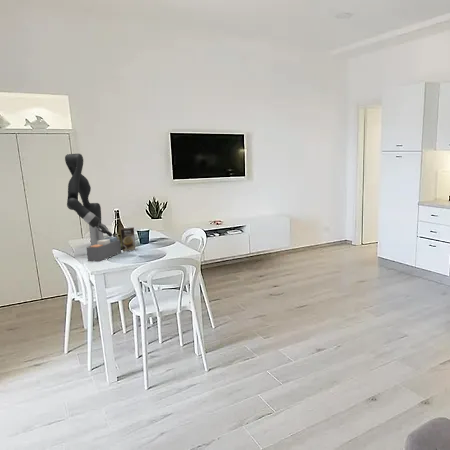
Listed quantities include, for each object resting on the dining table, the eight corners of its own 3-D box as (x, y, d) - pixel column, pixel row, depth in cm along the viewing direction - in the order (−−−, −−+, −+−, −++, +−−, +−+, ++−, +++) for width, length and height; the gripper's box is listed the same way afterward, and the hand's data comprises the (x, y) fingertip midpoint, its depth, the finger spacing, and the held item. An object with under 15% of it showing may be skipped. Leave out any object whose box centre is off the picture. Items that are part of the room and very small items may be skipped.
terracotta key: (96, 248, 262) (95, 244, 262) (103, 249, 260) (103, 244, 260) (90, 250, 256) (89, 246, 256) (97, 251, 255) (97, 246, 254)
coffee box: (122, 251, 278) (120, 229, 276) (123, 249, 285) (121, 228, 282) (135, 250, 280) (133, 228, 277) (135, 248, 286) (133, 226, 283)
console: (110, 251, 280) (109, 239, 278) (121, 252, 277) (120, 239, 275) (88, 260, 257) (86, 247, 255) (99, 261, 254) (98, 248, 252)
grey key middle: (103, 243, 269) (102, 239, 269) (110, 243, 267) (109, 239, 267) (97, 245, 264) (97, 241, 263) (105, 245, 262) (104, 241, 261)
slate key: (109, 240, 277) (109, 236, 276) (117, 241, 275) (116, 236, 274) (104, 242, 271) (104, 238, 271) (112, 243, 269) (111, 238, 269)
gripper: (93, 216, 262) (113, 233, 265) (97, 214, 275) (116, 230, 278) (85, 225, 263) (106, 241, 266) (90, 222, 276) (109, 237, 279)
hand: (111, 235), depth 272 cm, fingers closed
